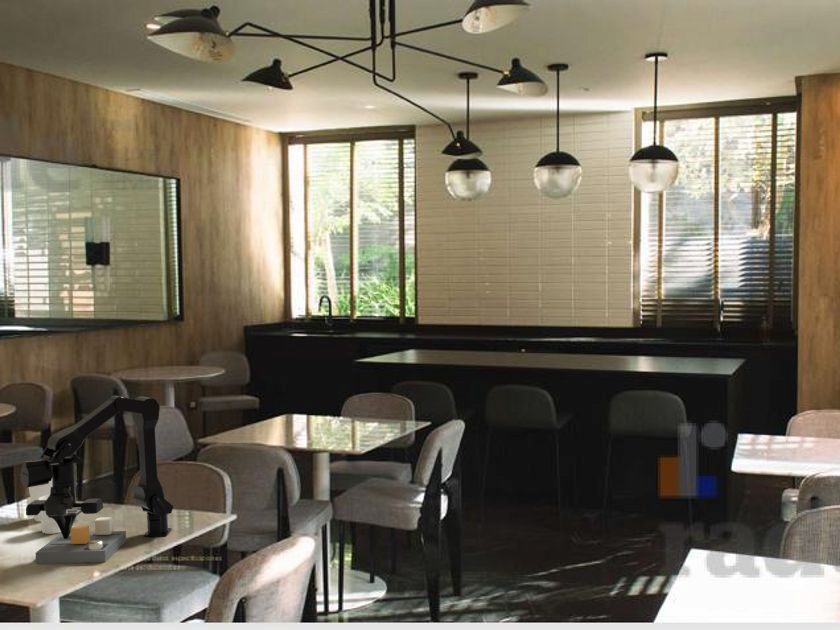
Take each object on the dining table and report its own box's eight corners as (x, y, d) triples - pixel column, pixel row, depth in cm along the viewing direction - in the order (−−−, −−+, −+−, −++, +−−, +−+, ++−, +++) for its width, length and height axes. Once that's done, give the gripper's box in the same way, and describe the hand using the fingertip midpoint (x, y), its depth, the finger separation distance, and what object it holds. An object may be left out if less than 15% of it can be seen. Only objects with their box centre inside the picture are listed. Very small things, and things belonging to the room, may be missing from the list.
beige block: (98, 531, 256) (98, 517, 256) (113, 531, 256) (112, 517, 256) (95, 534, 253) (94, 520, 253) (109, 534, 253) (109, 520, 253)
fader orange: (75, 540, 248) (74, 526, 247) (90, 540, 248) (89, 525, 248) (71, 544, 245) (70, 529, 244) (86, 543, 245) (85, 528, 245)
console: (61, 543, 257) (61, 531, 257) (126, 541, 258) (125, 529, 257) (36, 564, 239) (35, 550, 239) (105, 562, 240) (104, 548, 239)
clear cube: (91, 555, 245) (91, 540, 245) (105, 554, 245) (104, 539, 245) (87, 559, 241) (86, 544, 241) (100, 558, 241) (100, 543, 241)
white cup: (58, 535, 265) (56, 501, 265) (34, 534, 267) (32, 500, 267) (74, 527, 273) (72, 494, 273) (50, 526, 275) (48, 493, 274)
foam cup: (29, 516, 287) (27, 475, 286) (61, 513, 290) (59, 472, 289) (29, 524, 278) (27, 481, 277) (62, 520, 281) (60, 478, 281)
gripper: (15, 489, 237) (18, 548, 238) (88, 487, 237) (90, 546, 238) (33, 479, 248) (35, 536, 249) (102, 477, 249) (104, 534, 249)
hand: (66, 538), depth 246 cm, fingers closed
